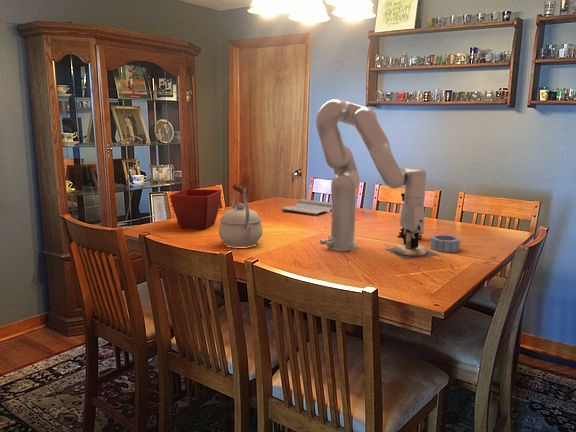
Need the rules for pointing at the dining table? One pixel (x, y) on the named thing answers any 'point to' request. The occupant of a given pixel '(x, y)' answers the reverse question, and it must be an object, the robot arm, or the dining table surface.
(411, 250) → the lid
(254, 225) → the kettle
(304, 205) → the mat
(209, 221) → the plant pot
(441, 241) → the bowl
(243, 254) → the dining table surface
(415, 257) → the rubber mat
